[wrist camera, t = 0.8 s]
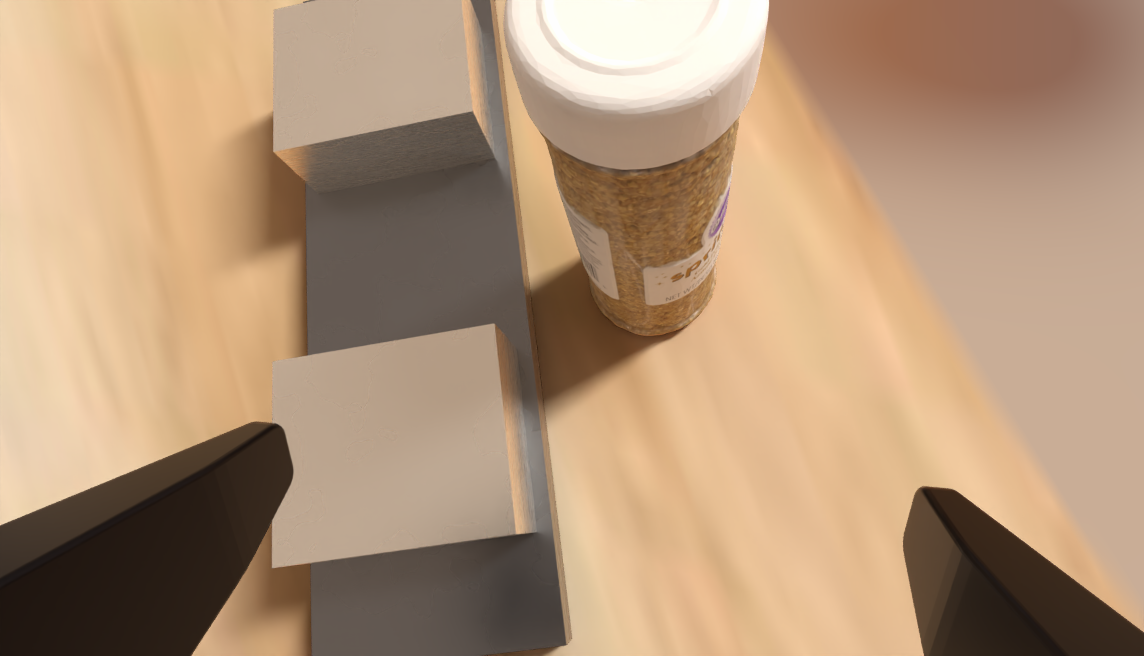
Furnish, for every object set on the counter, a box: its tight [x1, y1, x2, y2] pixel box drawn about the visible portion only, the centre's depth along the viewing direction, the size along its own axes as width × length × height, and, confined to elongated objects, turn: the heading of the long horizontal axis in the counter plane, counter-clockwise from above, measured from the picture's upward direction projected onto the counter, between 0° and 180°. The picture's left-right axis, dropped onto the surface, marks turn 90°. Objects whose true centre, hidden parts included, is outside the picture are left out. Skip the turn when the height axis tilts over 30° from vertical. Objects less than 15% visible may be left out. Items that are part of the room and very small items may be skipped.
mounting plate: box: [272, 0, 572, 656], centre depth 23 cm, size 26×8×4 cm, turn 8°
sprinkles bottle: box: [504, 0, 769, 336], centre depth 17 cm, size 5×5×14 cm
